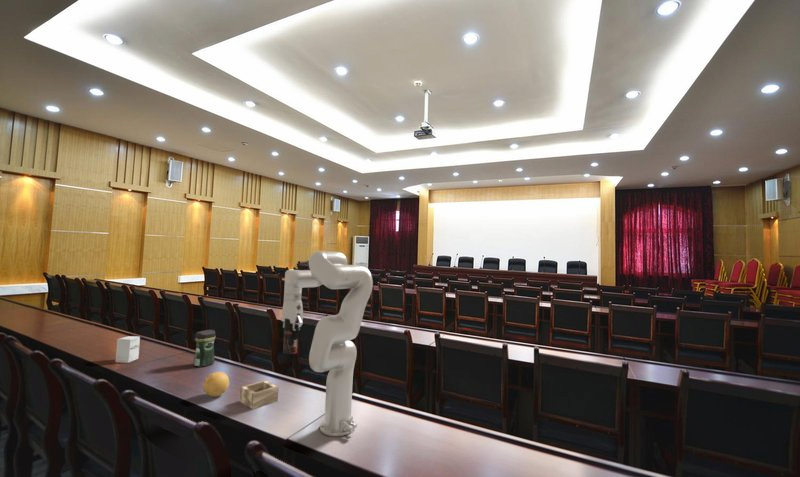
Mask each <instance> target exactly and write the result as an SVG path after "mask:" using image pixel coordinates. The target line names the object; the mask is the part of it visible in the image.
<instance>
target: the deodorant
mask: <svg viewBox="0 0 800 477" xmlns="http://www.w3.org/2000/svg"><path fill="white" fill-rule="evenodd" d="M295 323H297V321H296V322H295ZM296 325H297V324H296ZM296 325H295V327H296ZM292 330H293V326H292V324H291V323H290V320H289V319H285V324H284V337H283V344H282V345H283V348H282V354H284V355H295V354H297V353H298V339H299V338H298V339H295V340H292Z"/></svg>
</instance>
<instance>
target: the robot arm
mask: <svg viewBox="0 0 800 477" xmlns="http://www.w3.org/2000/svg"><path fill="white" fill-rule="evenodd" d="M308 268H309V270H308V269H304V270H300V269H287V270H286V271H285V273H284V290H283V292H284V293H283V305H282V311H281V312H282V313H281V318H280V320H281V322H282V328H283V330H282V331H283V332H282V336H283V338H284V324H285V319H289V320H290V323H291V324H292V326H293V330H292V340H295V339H299V338H300V330H301V327H302V325H303V324H304V322H303V320H304V308H303V301H302V291H303V288H317V287H320V286H322V285H324V286H325V287H326V288H327V289H330V290H344V289H351V290H350V291H349V292H348V293H347V294H346V295H345V297H344V298H343V300H342V302H341V306H340V309H339V312H338V313H337V314H334V315H333V314H332V315H326V316H324V317H321V319H320V320H319V321H318V322H317V324H316V326H315V329H314V332H313V333H314V334H313V337H312V341H311V347H310V350H309V355H308V360H309V361H308V362H309V363H308V364H309V367H310V368H311V370H312V371H313V372H316V373H324V372H328V371H329V372H328V374H327V377H326V381H325V382H326V385H325V403H324V404H325V405H324V420H323V421H322V422H321V423H320V424H319V431H320V432H321V433H322V434H323V435H325V436H329V437H343V436H347V435H349V434H353V433H354V432H355V429H356V428H357V427H358V424H357V423H356V422H355V421H354V417H353V416H352V403H353V402H352V400H353V398H352V397H353V384H354V383H353V382H354V381H353V380H354V378H353V377H354V369H355V364H356V360H357V353H358V352H357V346H356V345H355V343H354V342H353V341H352V340H354V339H356V338H357V336H358V335H359V332H360V329H361V324H362V321H363V317H364V313H365V309H366V306H367V304H368V301H369V299H370V297H371V294H372V292H373V283H374V280H373V276H372V273H371V271H370V270H369V269H368V268H367V267H366V266H363V265H359V264H348V258H347V257H346V255H345V254H344V253H342V252H340V251H330V250H329V251H328V250H317V251H315V252H313V253H312V254H311V255H310V257H309V259H308ZM296 321H297V323H295V322H296ZM296 324H297V325H296ZM295 325H296V327H295Z"/></svg>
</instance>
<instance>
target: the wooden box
mask: <svg viewBox="0 0 800 477" xmlns="http://www.w3.org/2000/svg"><path fill="white" fill-rule="evenodd" d="M239 389H240V392H239V402H241V403H242V404H243V405H245V406H246V407H247V408H250V409H252V410H255V409H258V408H261V407H265V406H268V405H271V404H274V403H276V402H279V386H277V385H275V384H273V383H272V382H270V381H268V380H265V379H264V380H259V381H257V382H253V383H250V384H246V385H243V386H240V388H239Z"/></svg>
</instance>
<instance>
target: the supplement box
mask: <svg viewBox="0 0 800 477" xmlns="http://www.w3.org/2000/svg"><path fill="white" fill-rule="evenodd" d="M140 340H141V336H138V335H137V336H136V335H131V336H130V335H128V336H124V337H121V338H117V339H116V352H115V363H123V364H126V363H127V364H128V363H131V362H133V361H136V360H139V356H140V355H139V354H140Z"/></svg>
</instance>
